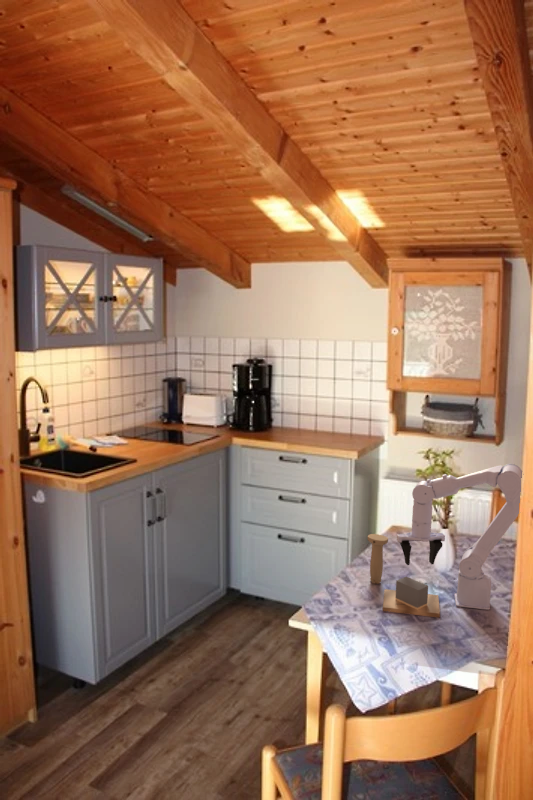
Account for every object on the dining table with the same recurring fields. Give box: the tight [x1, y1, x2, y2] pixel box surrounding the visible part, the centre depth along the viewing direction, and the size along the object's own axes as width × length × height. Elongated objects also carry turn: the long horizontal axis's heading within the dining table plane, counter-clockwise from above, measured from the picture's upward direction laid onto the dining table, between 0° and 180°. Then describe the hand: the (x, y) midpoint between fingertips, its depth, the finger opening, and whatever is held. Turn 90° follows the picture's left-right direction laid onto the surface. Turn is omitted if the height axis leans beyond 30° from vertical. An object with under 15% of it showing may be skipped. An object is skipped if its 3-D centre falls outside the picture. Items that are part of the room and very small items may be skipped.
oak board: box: [382, 588, 441, 618], centre depth 196 cm, size 16×12×1 cm
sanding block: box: [395, 576, 429, 610], centre depth 195 cm, size 8×5×6 cm, turn 40°
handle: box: [367, 533, 389, 585], centre depth 210 cm, size 5×6×15 cm
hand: (419, 563), depth 203 cm, fingers open, 7 cm apart
